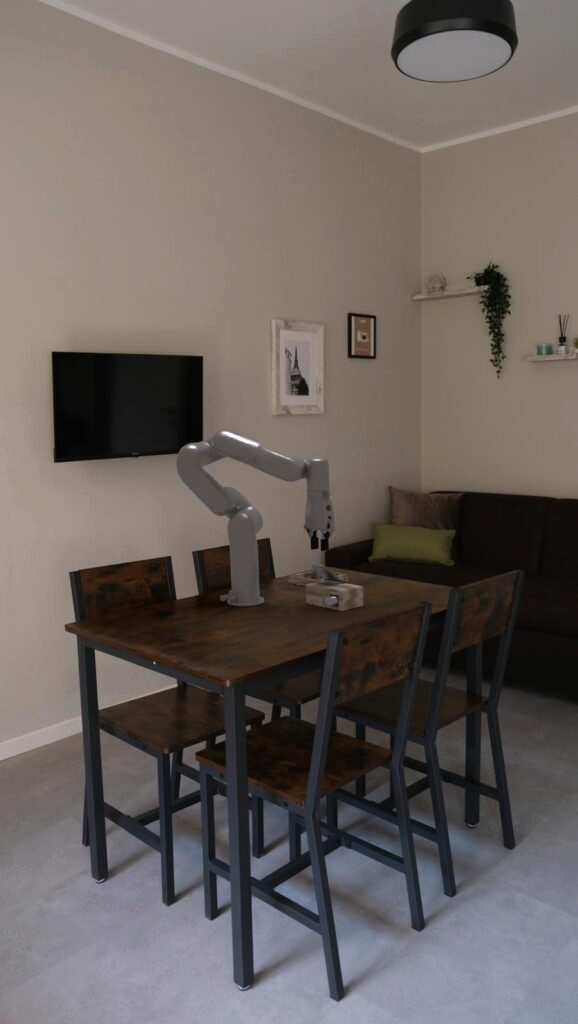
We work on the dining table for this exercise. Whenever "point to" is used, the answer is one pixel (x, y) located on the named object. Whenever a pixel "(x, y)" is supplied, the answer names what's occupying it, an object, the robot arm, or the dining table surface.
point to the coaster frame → (306, 579)
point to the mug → (316, 573)
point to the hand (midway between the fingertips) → (319, 549)
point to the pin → (331, 601)
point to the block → (347, 594)
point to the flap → (326, 573)
